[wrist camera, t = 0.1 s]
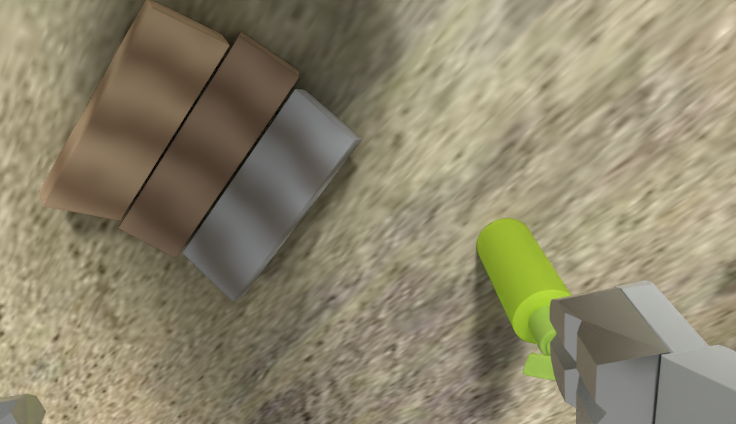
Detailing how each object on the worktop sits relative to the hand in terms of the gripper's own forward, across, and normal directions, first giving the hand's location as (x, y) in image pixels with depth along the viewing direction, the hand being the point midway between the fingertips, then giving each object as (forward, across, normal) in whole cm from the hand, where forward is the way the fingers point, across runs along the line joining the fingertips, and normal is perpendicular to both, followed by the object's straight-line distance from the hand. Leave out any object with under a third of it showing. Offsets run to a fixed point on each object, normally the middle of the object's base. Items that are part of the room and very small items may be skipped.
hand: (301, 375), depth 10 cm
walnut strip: (+48, +12, +13) cm, 51 cm away
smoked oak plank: (+46, +17, +8) cm, 49 cm away
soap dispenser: (+48, -15, +29) cm, 58 cm away
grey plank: (+46, +7, +18) cm, 50 cm away
